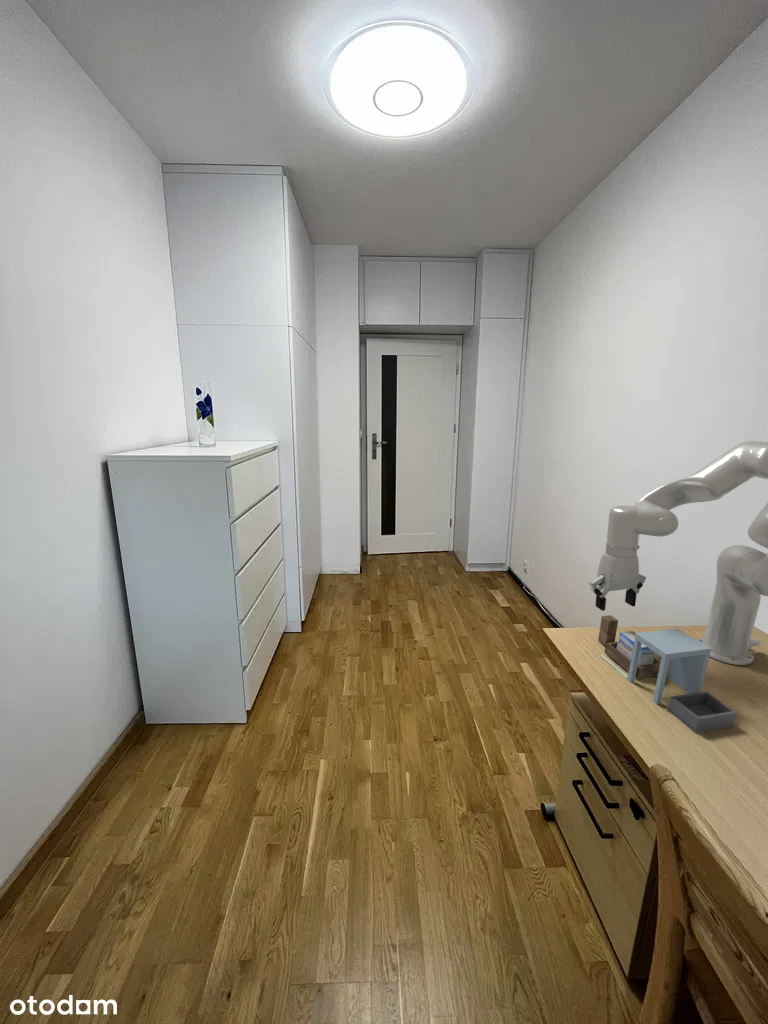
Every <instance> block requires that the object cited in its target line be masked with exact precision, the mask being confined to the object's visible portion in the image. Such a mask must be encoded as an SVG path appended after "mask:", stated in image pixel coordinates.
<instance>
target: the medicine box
mask: <svg viewBox="0 0 768 1024" xmlns="http://www.w3.org/2000/svg"><path fill="white" fill-rule="evenodd" d="M636 633H637V632H635V631H634V630H627V631H626V630H625V631H621V632H620V631H619V633H618V639H617V642H618V644H617V650H618V651H619V652H621V653H622V654H623V655H625V656H626V657H627V658H628V659H630V660H631V657H632V651H633V646H634V640H635V634H636ZM655 654H656V653H655V652H654V651H652V650H651V649H649V648H648V647H647V646H645V645H644V644H642V643H641V649H640V654H639V660H638V665H637V666H640V665H648V664H653V659H654V657H655Z"/></svg>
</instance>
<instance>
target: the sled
mask: <svg viewBox="0 0 768 1024" xmlns="http://www.w3.org/2000/svg"><path fill="white" fill-rule="evenodd" d="M600 620H601V621H600V626H599V633H598V639H597V641H598V642H600V643H601V644H602V645H603V646H605V649H604V653H605V654H606V655H607V656H608V657H610V658H611V660H613V661H615V662H616V663H617V664H618V665H619V666H620V667H621V668H623V669H624V670H625V671H627V672H628V673H629V668H630V663H631V660H630V659H628V658H627V657H626V656H625V655H623V654H622V653H621V652H619V651H618V650H617V644H618V641H616V639H617V638H616V637H617V631H618V630H617V629H618V625H619V620H618V619H617V618H616V617H614V616H613V615H611V614H610V615H601V619H600ZM660 663H661V660H659V659H658V658H656V657H655V656H654V659H653V664H648V665H640V666H637V671H636V676H635V679H638V678H644V677H645V678H646V677H652V676H658V673H659V668H660Z"/></svg>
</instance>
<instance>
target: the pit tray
mask: <svg viewBox="0 0 768 1024" xmlns="http://www.w3.org/2000/svg"><path fill="white" fill-rule="evenodd" d="M668 700H669V701H668V706H667V710H668V712H669V713H671V714H672V715H673V716H675V718H677V719H678V720H679V721H681V722H682V723H683V725H686V726H687V728H689V729H690V730H691V731H692V732H694V733H695V734H696V733H702V732H708V731H713V730H719V729H725V728H732V727H734V726H735V724H736V720H737V715H738V712H737V711H735V710H734V709H732V708H731V707H729V706H728V705H727V704H726V703H724V702H723V701H721V700H720V699H719V698H718V697H716V696H714V695H713V694H711V693H710V692H709V691H708V690H707V691H701V692H699V693H692V694H689V693H686V694H678V695H673V696H670V697H669V699H668Z"/></svg>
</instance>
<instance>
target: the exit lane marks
mask: <svg viewBox="0 0 768 1024" xmlns="http://www.w3.org/2000/svg"><path fill="white" fill-rule="evenodd" d="M599 656H600V658H601V659H603V660H604V661H605V662H606V663H607V664H609V666H611V667H612V668H613V669H614V670H616V671H617V672H618V673H619V674H621V675H622V676H623V677H624V678H625V679H628V674H626V673H625V672H624V671H622V669H621V668H619V667H618V666H617V665H615V664H614V663H613V662H612V661H611V660H609V659H608V658H607V657H606V656H604V654H599Z"/></svg>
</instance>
